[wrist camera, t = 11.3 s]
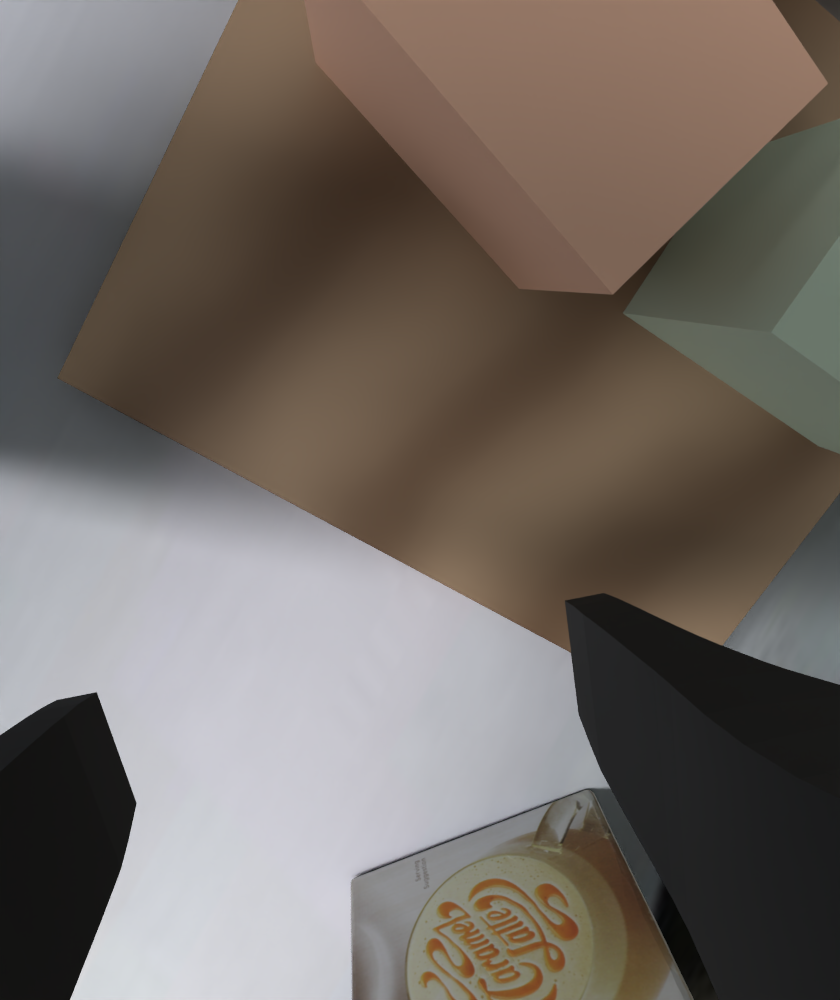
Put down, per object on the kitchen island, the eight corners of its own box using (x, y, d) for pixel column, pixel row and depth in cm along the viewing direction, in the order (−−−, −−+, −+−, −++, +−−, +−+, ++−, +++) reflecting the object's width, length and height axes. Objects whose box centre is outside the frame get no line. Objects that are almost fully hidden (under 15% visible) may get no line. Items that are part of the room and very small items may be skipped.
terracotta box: (518, 288, 18) (612, 294, 12) (315, 62, 16) (288, -86, 10) (658, 148, 18) (843, 67, 11) (462, -106, 16) (542, -389, 9)
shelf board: (75, 372, 19) (36, 385, 17) (437, -377, 15) (452, -493, 13) (658, 687, 24) (691, 730, 21) (1052, 168, 20) (1144, 153, 17)
